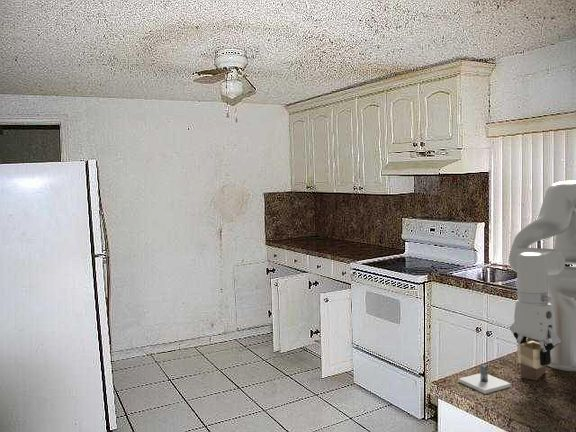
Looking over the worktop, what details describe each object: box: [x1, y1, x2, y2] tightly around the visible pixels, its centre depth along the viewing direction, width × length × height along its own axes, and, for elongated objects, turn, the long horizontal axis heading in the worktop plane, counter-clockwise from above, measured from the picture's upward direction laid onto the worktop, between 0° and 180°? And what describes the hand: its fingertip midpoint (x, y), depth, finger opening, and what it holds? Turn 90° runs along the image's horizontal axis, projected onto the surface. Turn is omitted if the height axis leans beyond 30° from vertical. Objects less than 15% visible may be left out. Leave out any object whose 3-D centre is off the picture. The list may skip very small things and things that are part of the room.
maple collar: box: [516, 341, 552, 369], centre depth 134 cm, size 6×6×5 cm
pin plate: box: [458, 364, 512, 395], centre depth 141 cm, size 10×10×6 cm
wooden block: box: [520, 338, 546, 382], centre depth 147 cm, size 9×4×18 cm, turn 136°
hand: (534, 360), depth 135 cm, fingers closed on maple collar, 6 cm apart
